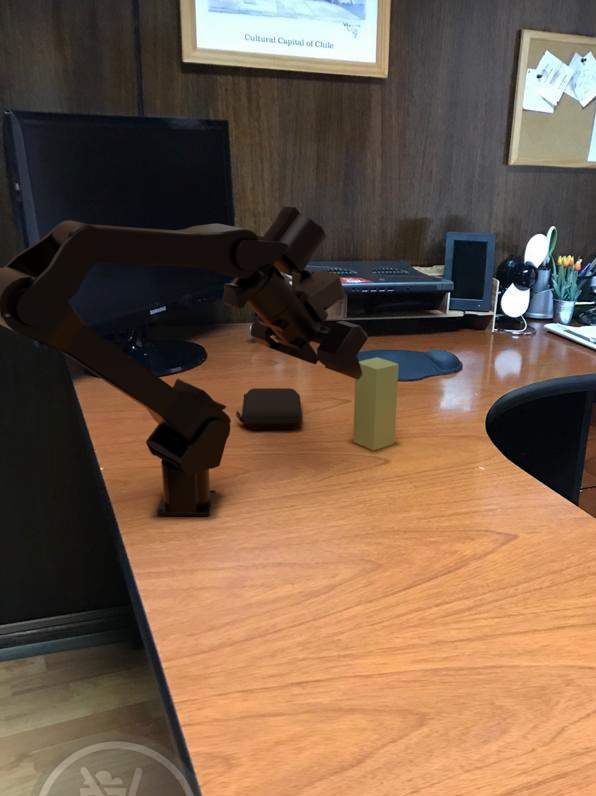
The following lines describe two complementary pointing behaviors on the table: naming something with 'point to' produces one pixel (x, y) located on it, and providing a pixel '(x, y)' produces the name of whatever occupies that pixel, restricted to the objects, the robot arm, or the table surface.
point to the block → (375, 403)
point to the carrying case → (271, 408)
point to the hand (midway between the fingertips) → (337, 369)
